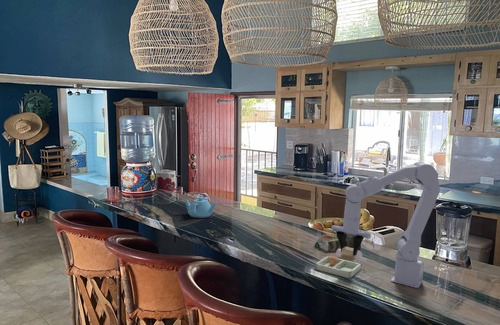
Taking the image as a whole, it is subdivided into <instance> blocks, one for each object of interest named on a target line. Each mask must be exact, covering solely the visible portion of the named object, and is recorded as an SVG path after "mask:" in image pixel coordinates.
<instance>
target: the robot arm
mask: <svg viewBox="0 0 500 325" xmlns="http://www.w3.org/2000/svg"><path fill="white" fill-rule="evenodd" d="M405 179H408V180H414V181H415V180H416V181H417V182H418V183H419V185H420V187H421V189H422V192H421V195H420V197H419V200H418V201H417V204H416V207H415V208H414V211H413V212H412V216H411V218H410V221H409V224H408V225H407V228H406V229H405V231H403V233H402V234H401V236H400V237H399V238H398V239H397V240H396V242H395V247H396V249H397V250H398V251H397V253H396V254H395V255H396V256H395V267H394V275H393V277H392V278H391V279H390V281H391V282H393V283H397V284H400V285H404V286H408V287H412V288H415V289H418V288H420V286H421V285H422V284H423V281H424V280H423V277H424V264H425V263H424V261H422V260H420V259H418V258H419V257H420V253H421V251H420V247H421V245H422V235H423V232H424V230H425V227H426V225H427V223H428V220H429V218H430V217H431V213H432V211H433V209H434V206H435V204H436V202H437V200H438V197H439V194H440V192H441V187H440V182H439V172H438V171H437V170H436V169H435V167H434V166H433V165H431V164H429V163H425V162H421V161H416V162H415V163H411V164H407V165H406V166H404V167H401V168H399V169H396V170H395V171H392V172H390V173H387V174H385V175H384V176H382V177H377V176H372V175H370V176H368V177H367V179H365V180H363V181H360V182H359V181H357V182H356V183H355V184H350V185H349V186H347V187H346V189H345V191H344V195H345V197H346V198H345V204H344V212H343V226H342V225H335V224H334V225H331V229H330V230H331V232H337V233H336V234H337V238H338V240H339V243H340V247H341V252H342V248H344V247H345V243H346V237H347V234H350V235H355V236H356V237H354V238H353V239H354V249H353V255H354V256H355V255H357V251H358V250H359V249H358V248H359V246H360V244H361V245H362V242H363V240H364V239H368V240H369V239H371V238H372V232H369V231H366V230H362V229H360V222H361V221H360V220H361V219H360V218H361V210H362V208H361V207H362V205H361V202H362V201H363V199H364V198H367V197H369V196H373V195H375V194H378V193H380V192H382V190H383V188H384V187H385V186H388V185H391V184H393V183H396V182H398V181H402V180H405Z"/></svg>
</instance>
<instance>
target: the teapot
mask: <svg viewBox="0 0 500 325" xmlns="http://www.w3.org/2000/svg"><path fill="white" fill-rule="evenodd" d="M208 199H209V198H205V199H204V197H201V196H200V197H197V199H194V200H193V201H192V202H191V203H190V201H189V199H184V203H185V206H186V209H187V214H188V215H189V216H190V217H192V218H198V219H204V218H209V217H211V216H212V213H214V211H215V208H216V206H217V202H213V203H211V204H212V205H211V204H210V202H209V200H208Z"/></svg>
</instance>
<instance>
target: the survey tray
mask: <svg viewBox="0 0 500 325" xmlns="http://www.w3.org/2000/svg"><path fill="white" fill-rule="evenodd" d="M331 256H332V255H331ZM331 256H330V255H327V256H325V257H323V258H322V259H320V260H319V261H317V262H316V263H315V264H314V270H317V271H321V272H325V273H329V274H333V275H334V276H335V275H336V276H339V277H343V278H347V279H352V278H353V277H354V276H355V275H356V274H357V273H359V272H360V271H361V270H362V263H361V264H359V263H355V262H351V261H347V260H343V259H340V258H338V257H336V258H337V264H336V265H330V264H329V261H328V260H329V258H330V257H331Z"/></svg>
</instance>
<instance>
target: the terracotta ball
mask: <svg viewBox="0 0 500 325" xmlns="http://www.w3.org/2000/svg"><path fill="white" fill-rule="evenodd" d="M337 258H338V257H337V256H332V255H331V257H330V258H329V260H328V261H329V264H330V265H336V264H337Z"/></svg>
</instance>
